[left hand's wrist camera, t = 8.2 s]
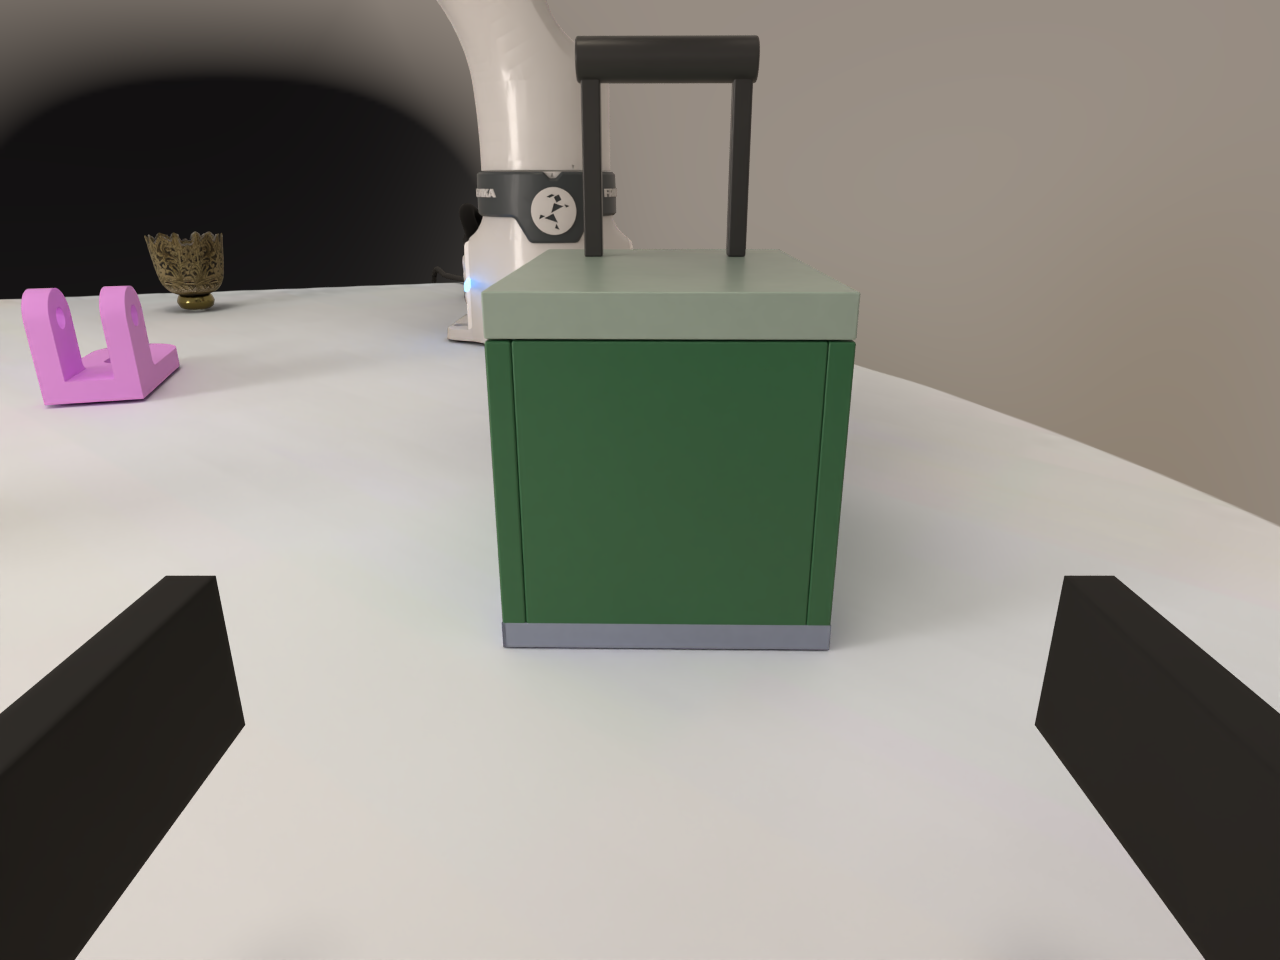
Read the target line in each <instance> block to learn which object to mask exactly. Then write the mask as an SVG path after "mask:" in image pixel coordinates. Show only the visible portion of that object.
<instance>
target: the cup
mask: <svg viewBox="0 0 1280 960" xmlns="http://www.w3.org/2000/svg"><path fill="white" fill-rule="evenodd" d="M148 238H149V239H148ZM191 238H192V239H191ZM191 238H190V239H191V240H189V241H188V240H187V239H185V240H184V241H182V240H180V238H179V236H178V234H175V233H172V235H171V236H170V237H169V236H167V235H164V234H160V233H158V234H157V235H156V237H155V239H154V238H153V237H152V236H150V235H148V237H147V236H145V240H146V242H147V246H148V249H149V252H150V255H151V258H152V261H153V264H154V267H155V270H156V273H157V275H158V277H159V279H160V281H161V283H162V284H163V286H164V287H165V288H166V289H168V290H169V291H170V292H172V293H175V294H178V295H179V296H178V299H177V303H178V304H179V306H180V307H181V308H183V309H187V310H198V309H206V308H210V307H212V306H213V305H214V301H215V299H214V297H213V296H212V294H211V293H212V292H214V291H215V290H217V289H218V288H219V287H220V285H221V283H222V280H223V274H224V261H223V242H222V238H223V236H222V233H221V234H219V233H218V234H216V235H215V237H214V235H213V234H212V233H211V232H207V233H204V234H203V235H201V236H200V234H199V233H198V232H193V233H192V234H191Z"/></svg>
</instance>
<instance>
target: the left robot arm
mask: <svg viewBox="0 0 1280 960" xmlns="http://www.w3.org/2000/svg"><path fill="white" fill-rule="evenodd" d="M244 726H245V721H244V716H243V711H242V706H241V701H240V696H239V691H238V686H237V681H236V676H235V671H234V666H233V661H232V656H231V651H230V646H229V641H228V636H227V631H226V626H225V621H224V616H223V611H222V606H221V601H220V596H219V591H218V585H217V580H216V576H165V577H164V578H163V579H162V580H160V581H159V582H158V583H157V584H156V585H154V586H153V587H152V588H151V589H150V590H148V591H147V592H146V593H145V594H144V595H142V596H141V597H140V598H139V599H138V600H136V601H135V602H134V603H133V604H132V605H130V606H129V607H128V608H127V609H126V610H124V611H123V612H122V613H121V614H120V615H118V616H117V617H116V618H115V619H114V620H112V621H111V622H110V623H109V624H108V625H106V626H105V627H104V628H103V629H102V630H100V631H99V632H98V633H97V634H95V635H94V636H93V637H92V638H91V639H89V640H88V641H87V642H86V643H85V644H83V645H82V646H81V647H80V648H79V649H77V650H76V651H75V652H74V653H73V654H71V655H70V656H69V657H68V658H67V659H65V660H64V661H63V662H62V663H61V664H59V665H58V666H57V667H56V668H55V669H53V670H52V671H51V672H50V673H49V674H47V675H46V676H45V677H44V678H43V679H41V680H40V681H39V682H38V683H37V684H35V685H34V686H33V687H32V688H31V689H29V690H28V691H27V692H26V693H25V694H23V695H22V696H21V697H20V698H19V699H17V700H16V701H15V702H14V703H13V704H11V705H10V706H9V707H8V708H7V709H5V710H4V711H3V712H2V713H1V714H0V960H75V959H76V957H77V956H78V954H79V953H80V952H81V950H82V949H83V948H84V946H85V945H86V943H87V942H88V941H89V939H90V938H91V936H92V935H93V934H94V932H95V931H96V930H97V928H98V927H99V925H100V924H101V923H102V921H103V920H104V919H105V917H106V916H107V914H108V913H109V912H110V910H111V909H112V908H113V906H114V905H115V903H116V902H117V901H118V899H119V898H120V897H121V895H122V894H123V892H124V891H125V890H126V888H127V887H128V886H129V884H130V883H131V881H132V880H133V879H134V877H135V876H136V875H137V873H138V872H139V870H140V869H141V868H142V866H143V865H144V864H145V862H146V861H147V859H148V858H149V857H150V855H151V854H152V853H153V851H154V850H155V848H156V847H157V846H158V844H159V843H160V841H161V840H162V839H163V837H164V836H165V835H166V833H167V832H168V830H169V829H170V828H171V826H172V825H173V824H174V822H175V821H176V819H177V818H178V817H179V815H180V814H181V813H182V811H183V810H184V808H185V807H186V806H187V804H188V803H189V802H190V800H191V799H192V797H193V796H194V795H195V793H196V792H197V791H198V789H199V788H200V786H201V785H202V784H203V782H204V781H205V780H206V778H207V777H208V775H209V774H210V773H211V771H212V770H213V769H214V767H215V766H216V764H217V763H218V762H219V760H220V759H221V757H222V756H223V755H224V753H225V752H226V751H227V749H228V748H229V746H230V745H231V744H232V742H233V741H234V740H235V738H236V737H237V735H238V734H239V733H240V731H241V730H242V729H243V727H244ZM1035 726H1036V727H1037V729H1038V730H1039V731H1040V733H1041V734H1042V735H1043V737H1044V738H1045V740H1046V741H1047V742H1048V744H1049V745H1050V746H1051V748H1052V749H1053V751H1054V752H1055V753H1056V755H1057V756H1058V758H1059V759H1060V760H1061V762H1062V763H1063V764H1064V766H1065V767H1066V769H1067V770H1068V771H1069V773H1070V774H1071V775H1072V777H1073V778H1074V780H1075V781H1076V782H1077V784H1078V785H1079V786H1080V788H1081V789H1082V791H1083V792H1084V793H1085V795H1086V796H1087V797H1088V799H1089V800H1090V802H1091V803H1092V804H1093V806H1094V807H1095V808H1096V810H1097V811H1098V813H1099V814H1100V815H1101V817H1102V818H1103V819H1104V821H1105V822H1106V824H1107V825H1108V826H1109V828H1110V829H1111V830H1112V832H1113V833H1114V835H1115V836H1116V837H1117V839H1118V840H1119V841H1120V843H1121V844H1122V846H1123V847H1124V848H1125V850H1126V851H1127V853H1128V854H1129V855H1130V857H1131V858H1132V859H1133V861H1134V862H1135V864H1136V865H1137V866H1138V868H1139V869H1140V870H1141V872H1142V873H1143V875H1144V876H1145V877H1146V879H1147V880H1148V881H1149V883H1150V884H1151V886H1152V887H1153V888H1154V890H1155V891H1156V892H1157V894H1158V895H1159V897H1160V898H1161V899H1162V901H1163V902H1164V903H1165V905H1166V906H1167V908H1168V909H1169V910H1170V912H1171V913H1172V914H1173V916H1174V917H1175V919H1176V920H1177V921H1178V923H1179V924H1180V925H1181V927H1182V928H1183V930H1184V931H1185V932H1186V934H1187V935H1188V937H1189V938H1190V939H1191V941H1192V942H1193V943H1194V945H1195V946H1196V948H1197V949H1198V950H1199V952H1200V953H1201V954H1202V956H1203V957H1204V959H1205V960H1280V714H1279V713H1278V712H1277V711H1276V710H1275V709H1273V708H1272V707H1271V706H1270V705H1269V704H1267V703H1266V702H1265V701H1264V700H1263V699H1261V698H1260V697H1259V696H1258V695H1257V694H1255V693H1254V692H1253V691H1252V690H1251V689H1249V688H1248V687H1247V686H1246V685H1245V684H1243V683H1242V682H1241V681H1240V680H1239V679H1237V678H1236V677H1235V676H1234V675H1233V674H1231V673H1230V672H1229V671H1228V670H1227V669H1225V668H1224V667H1223V666H1222V665H1221V664H1219V663H1218V662H1217V661H1216V660H1215V659H1213V658H1212V657H1211V656H1210V655H1209V654H1207V653H1206V652H1205V651H1204V650H1203V649H1201V648H1200V647H1199V646H1198V645H1197V644H1195V643H1194V642H1193V641H1192V640H1191V639H1189V638H1188V637H1187V636H1186V635H1184V634H1183V633H1182V632H1181V631H1180V630H1178V629H1177V628H1176V627H1175V626H1174V625H1172V624H1171V623H1170V622H1169V621H1168V620H1166V619H1165V618H1164V617H1163V616H1162V615H1160V614H1159V613H1158V612H1157V611H1156V610H1154V609H1153V608H1152V607H1151V606H1150V605H1148V604H1147V603H1146V602H1145V601H1144V600H1142V599H1141V598H1140V597H1139V596H1138V595H1136V594H1135V593H1134V592H1133V591H1132V590H1130V589H1129V588H1128V587H1127V586H1126V585H1124V584H1123V583H1122V582H1121V581H1120V580H1118V579H1117V578H1116V577H1115V576H1064V580H1063V585H1062V591H1061V596H1060V601H1059V606H1058V611H1057V616H1056V621H1055V626H1054V631H1053V636H1052V641H1051V646H1050V651H1049V656H1048V661H1047V666H1046V671H1045V676H1044V681H1043V686H1042V691H1041V696H1040V701H1039V706H1038V711H1037V716H1036V721H1035Z"/></svg>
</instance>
